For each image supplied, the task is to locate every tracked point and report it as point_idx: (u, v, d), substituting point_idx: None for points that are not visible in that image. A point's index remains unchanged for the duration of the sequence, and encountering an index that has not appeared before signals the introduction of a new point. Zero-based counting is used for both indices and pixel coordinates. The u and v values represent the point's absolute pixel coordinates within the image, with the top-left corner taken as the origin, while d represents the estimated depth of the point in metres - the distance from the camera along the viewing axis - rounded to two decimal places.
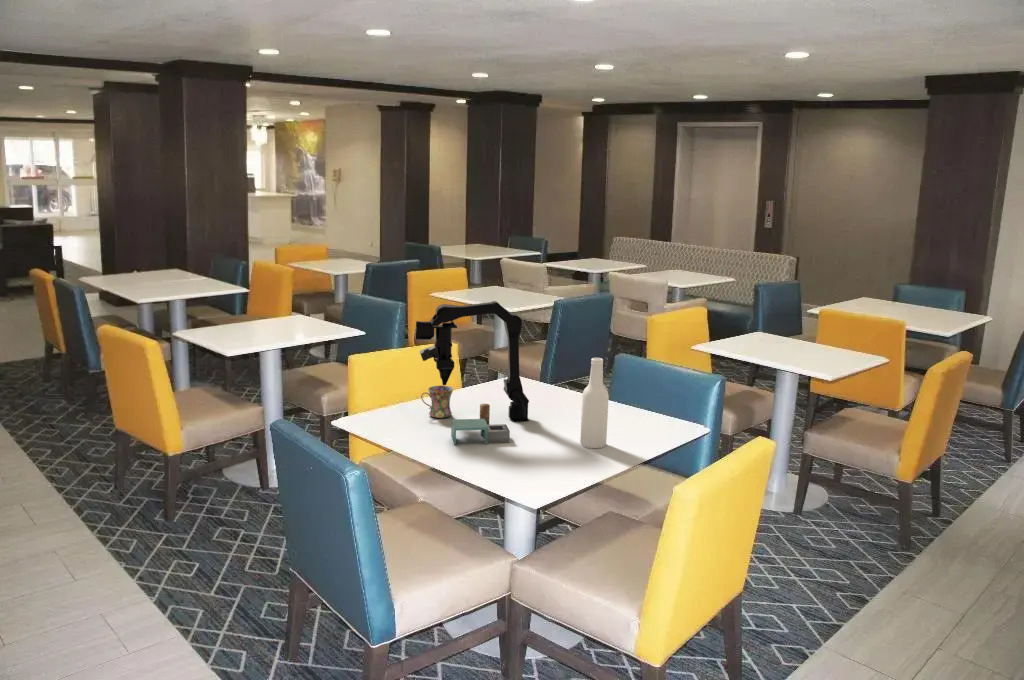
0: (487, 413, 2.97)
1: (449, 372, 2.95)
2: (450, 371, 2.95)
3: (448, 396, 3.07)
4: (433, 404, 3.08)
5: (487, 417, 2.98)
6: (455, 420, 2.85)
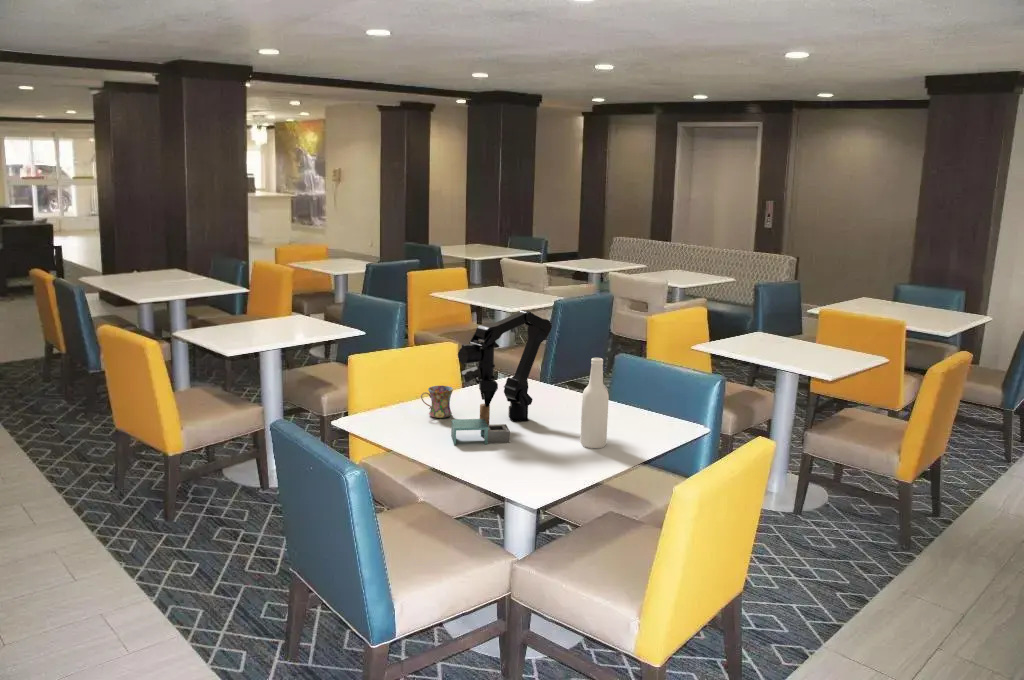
0: (487, 413, 2.97)
1: (492, 393, 2.91)
2: (493, 392, 2.91)
3: (448, 396, 3.07)
4: (433, 404, 3.08)
5: (487, 417, 2.98)
6: (455, 420, 2.85)
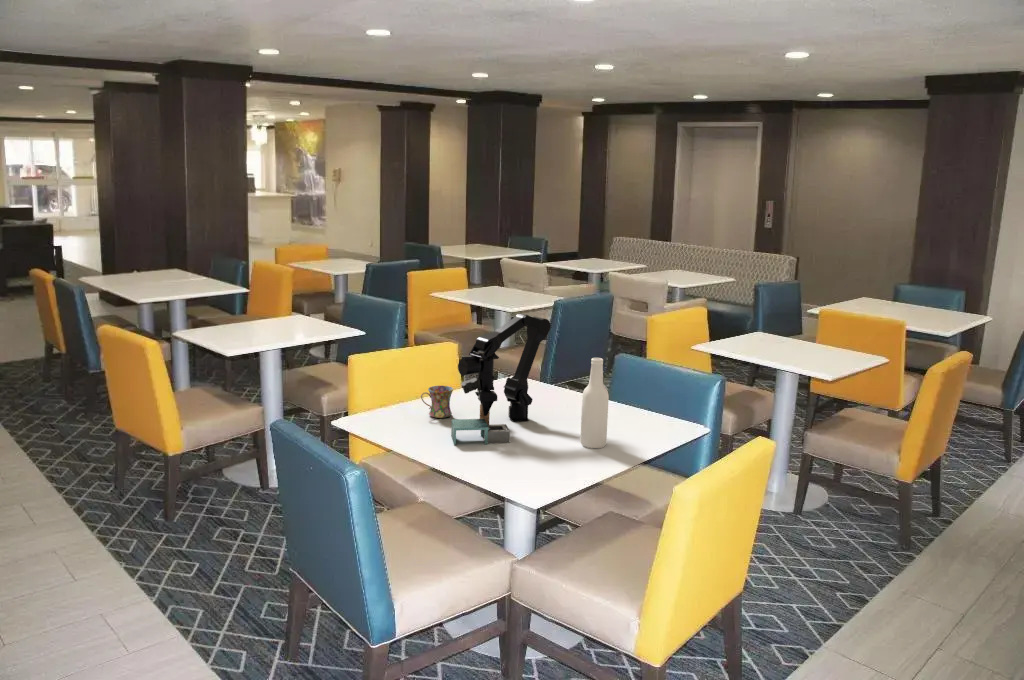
0: None
1: (490, 403, 2.95)
2: (491, 402, 2.94)
3: (448, 396, 3.07)
4: (433, 404, 3.08)
5: (487, 417, 2.98)
6: (455, 420, 2.85)
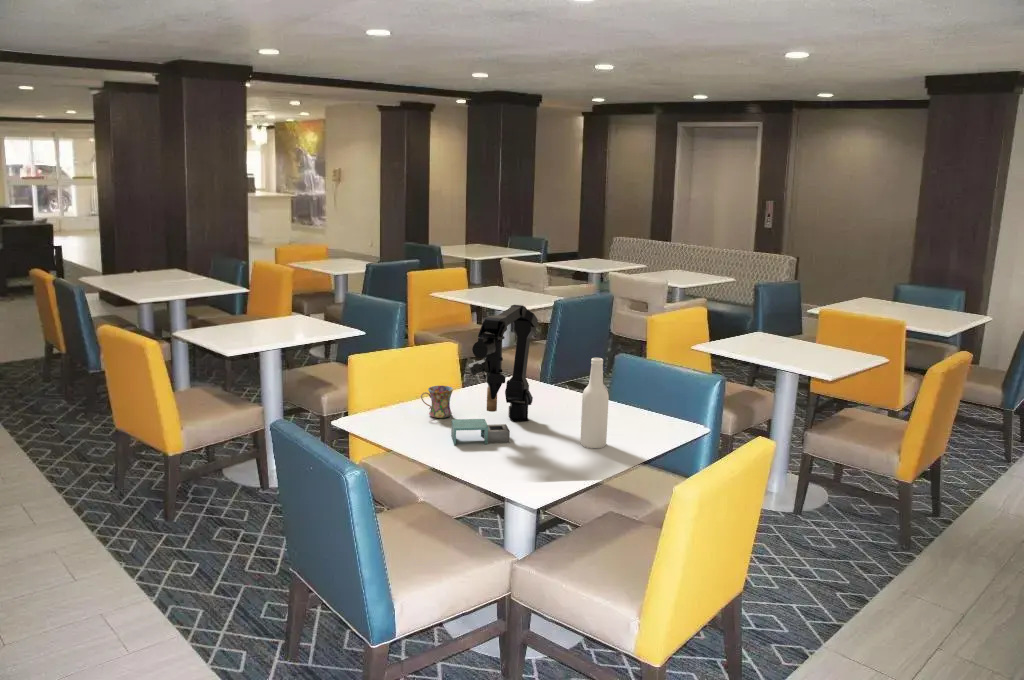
0: None
1: (498, 386, 2.84)
2: (499, 384, 2.83)
3: (448, 396, 3.07)
4: (433, 404, 3.08)
5: (494, 400, 2.87)
6: (455, 420, 2.85)
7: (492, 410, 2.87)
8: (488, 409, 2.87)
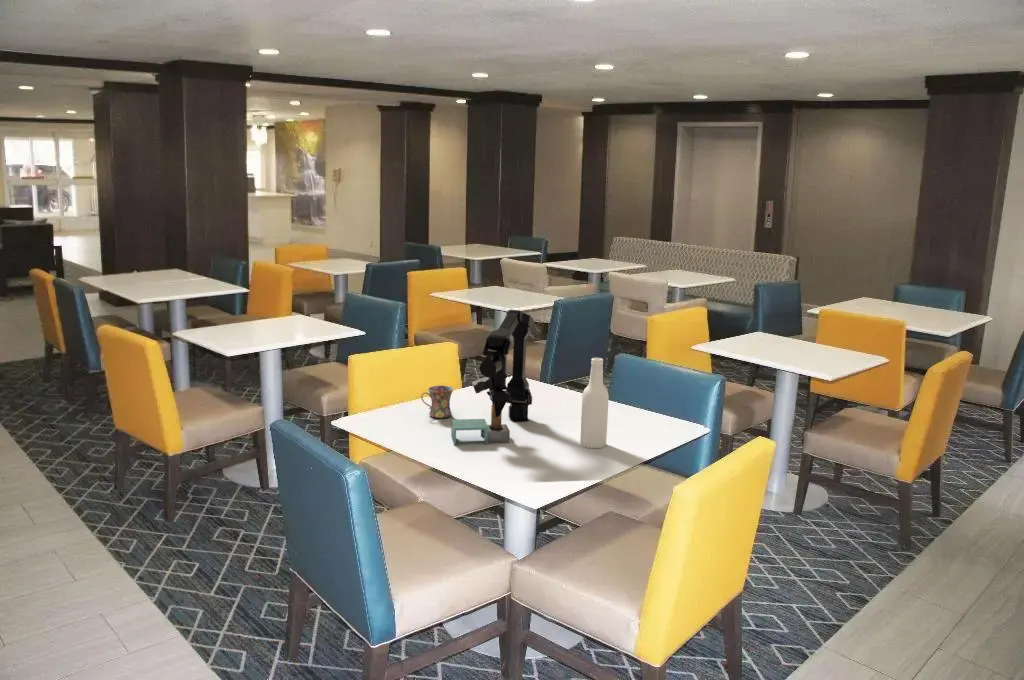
0: None
1: (503, 403, 2.80)
2: (504, 402, 2.80)
3: (448, 396, 3.07)
4: (433, 404, 3.08)
5: (499, 418, 2.83)
6: (455, 420, 2.85)
7: (497, 428, 2.83)
8: (493, 427, 2.83)
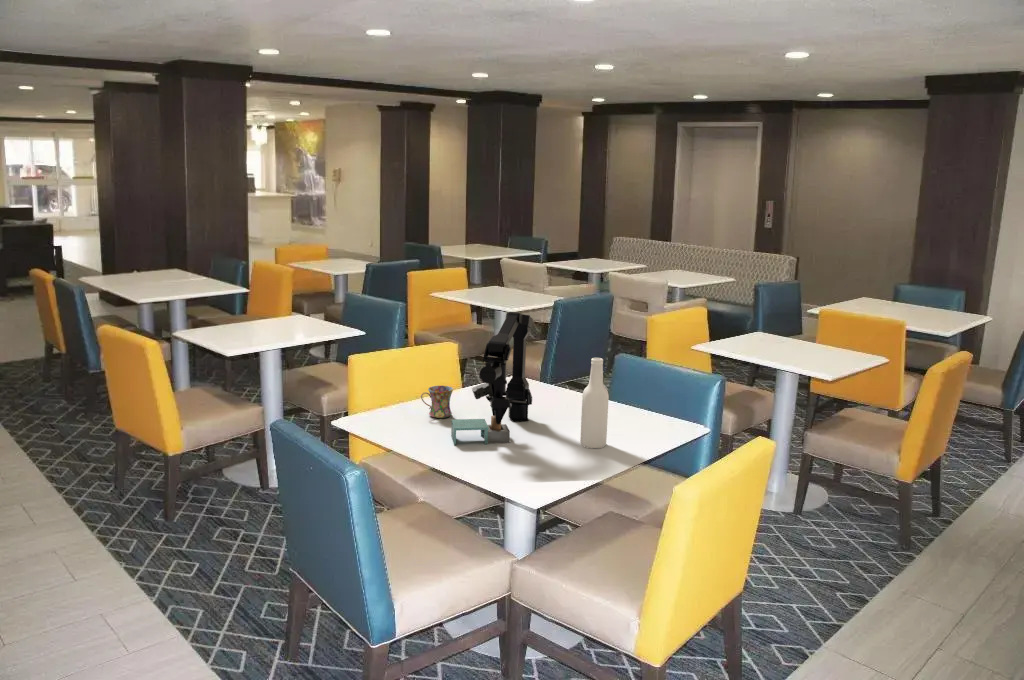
0: (499, 425, 2.83)
1: (504, 411, 2.79)
2: (505, 409, 2.78)
3: (448, 396, 3.07)
4: (433, 404, 3.08)
5: (499, 429, 2.84)
6: (455, 420, 2.85)
7: None
8: None
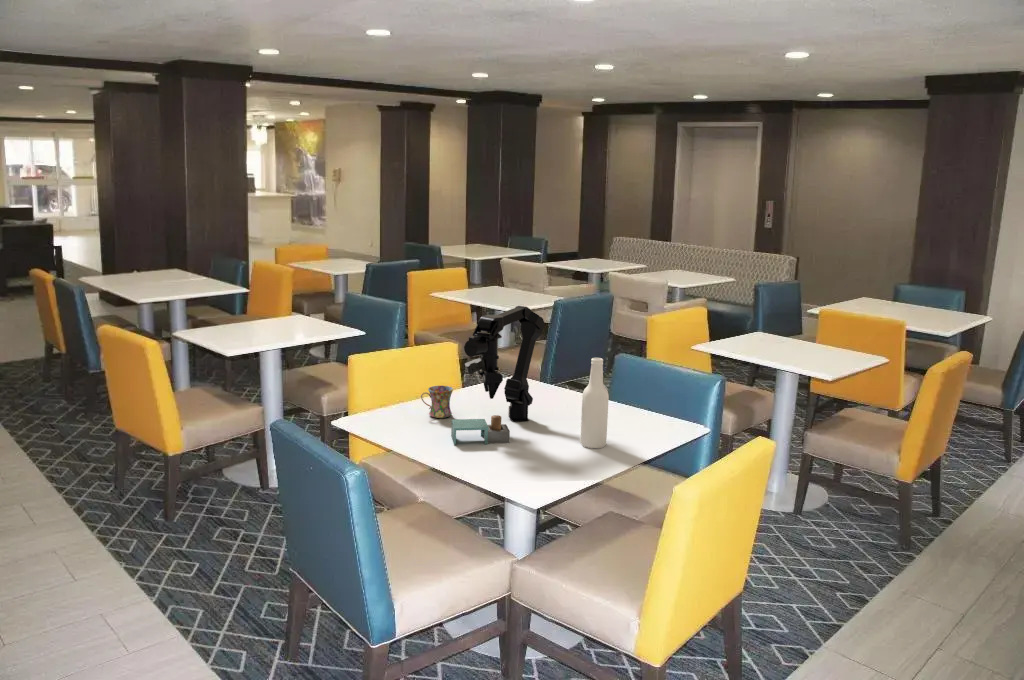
0: (499, 425, 2.83)
1: (497, 385, 2.87)
2: (498, 384, 2.87)
3: (448, 396, 3.07)
4: (433, 404, 3.08)
5: (499, 429, 2.84)
6: (455, 420, 2.85)
7: None
8: None
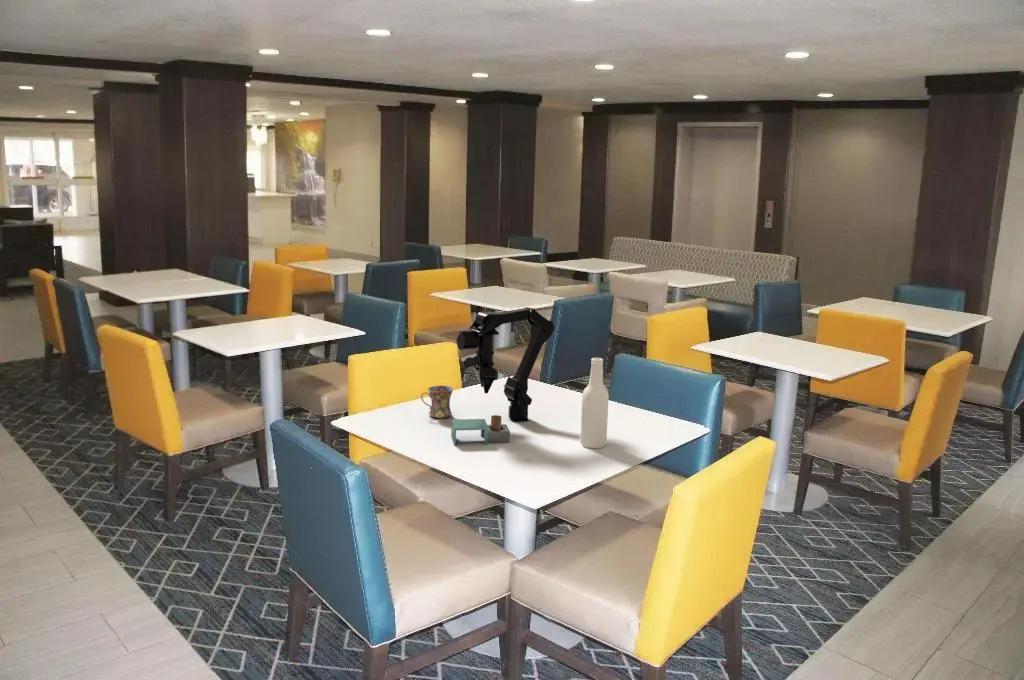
0: (499, 425, 2.83)
1: (491, 380, 2.92)
2: (492, 379, 2.92)
3: (448, 396, 3.07)
4: (433, 404, 3.08)
5: (499, 429, 2.84)
6: (455, 420, 2.85)
7: None
8: None
